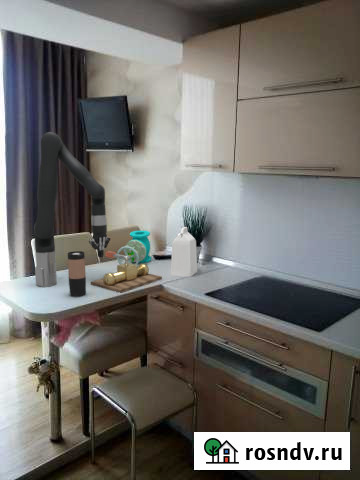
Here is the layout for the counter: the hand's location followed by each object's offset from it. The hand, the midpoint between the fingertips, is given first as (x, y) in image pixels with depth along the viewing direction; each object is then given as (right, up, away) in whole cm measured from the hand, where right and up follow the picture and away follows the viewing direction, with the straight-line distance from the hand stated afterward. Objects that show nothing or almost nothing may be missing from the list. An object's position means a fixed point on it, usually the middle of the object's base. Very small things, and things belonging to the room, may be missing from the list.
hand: (100, 257), depth 202 cm
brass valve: (+14, -13, +1) cm, 19 cm away
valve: (+14, -6, +39) cm, 42 cm away
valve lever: (+8, -1, +3) cm, 9 cm away
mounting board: (+14, -13, +1) cm, 19 cm away
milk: (+43, -10, +18) cm, 48 cm away
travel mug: (-7, -17, -20) cm, 27 cm away
